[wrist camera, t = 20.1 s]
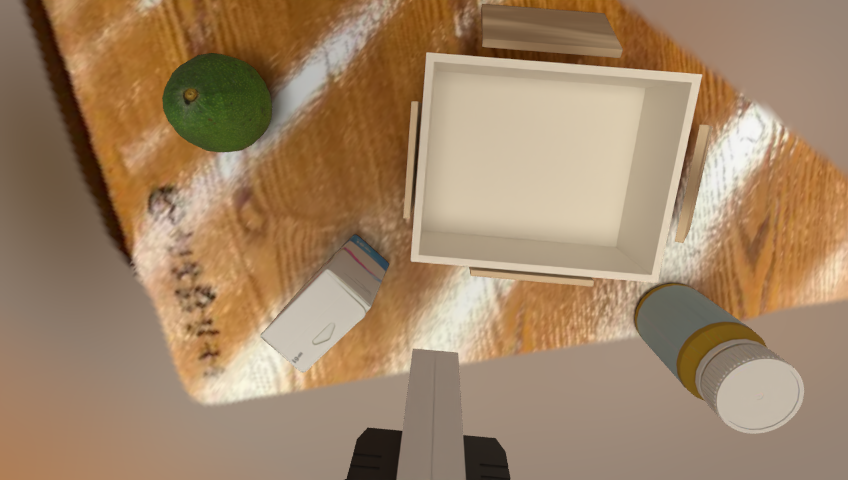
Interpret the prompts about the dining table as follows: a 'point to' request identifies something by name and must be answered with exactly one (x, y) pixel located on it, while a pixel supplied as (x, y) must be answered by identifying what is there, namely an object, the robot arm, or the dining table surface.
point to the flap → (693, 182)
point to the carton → (546, 167)
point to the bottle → (719, 359)
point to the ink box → (327, 304)
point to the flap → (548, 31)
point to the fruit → (217, 103)
